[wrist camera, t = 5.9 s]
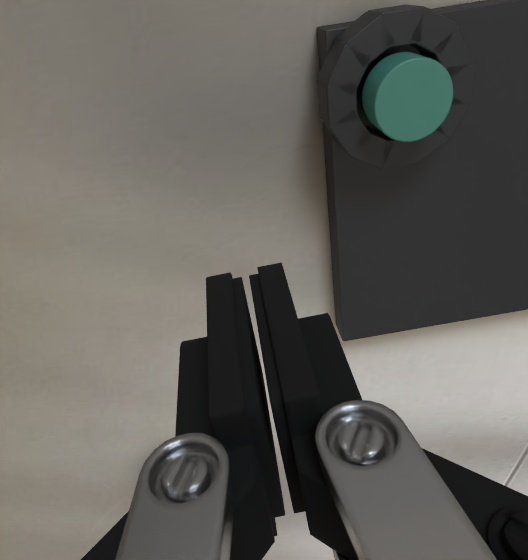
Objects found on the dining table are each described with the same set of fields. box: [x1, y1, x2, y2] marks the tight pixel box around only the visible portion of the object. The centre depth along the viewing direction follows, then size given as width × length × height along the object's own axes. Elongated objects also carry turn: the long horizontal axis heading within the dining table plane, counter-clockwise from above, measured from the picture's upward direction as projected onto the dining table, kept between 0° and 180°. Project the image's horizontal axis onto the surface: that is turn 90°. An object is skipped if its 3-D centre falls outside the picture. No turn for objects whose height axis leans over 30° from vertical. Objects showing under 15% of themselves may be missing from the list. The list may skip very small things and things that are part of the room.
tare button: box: [362, 52, 453, 142], centre depth 19 cm, size 3×3×2 cm
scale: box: [317, 0, 528, 341], centre depth 23 cm, size 16×14×4 cm
